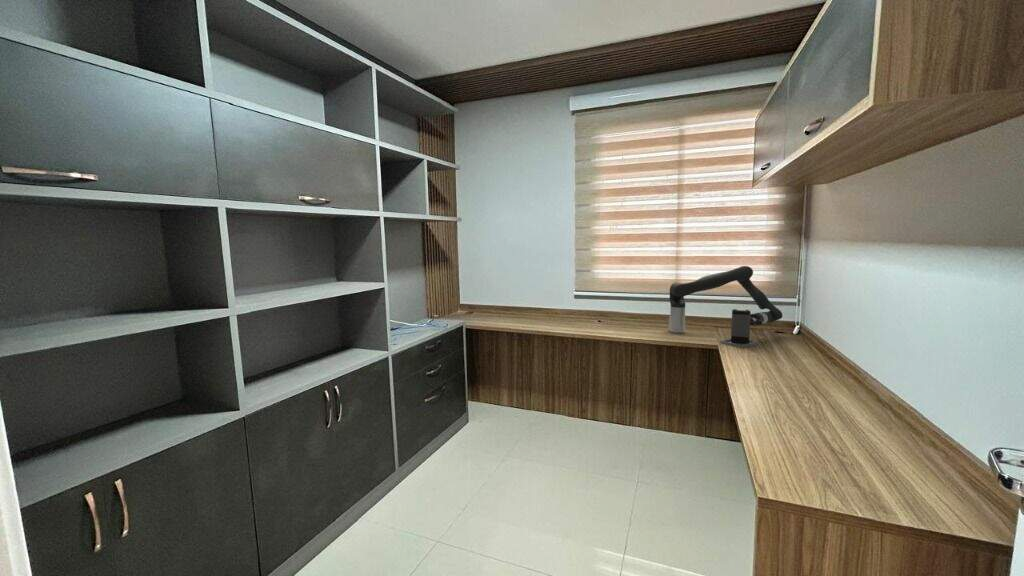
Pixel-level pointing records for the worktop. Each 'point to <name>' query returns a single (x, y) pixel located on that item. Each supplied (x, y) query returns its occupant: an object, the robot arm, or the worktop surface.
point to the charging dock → (728, 342)
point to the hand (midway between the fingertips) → (742, 322)
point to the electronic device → (740, 326)
